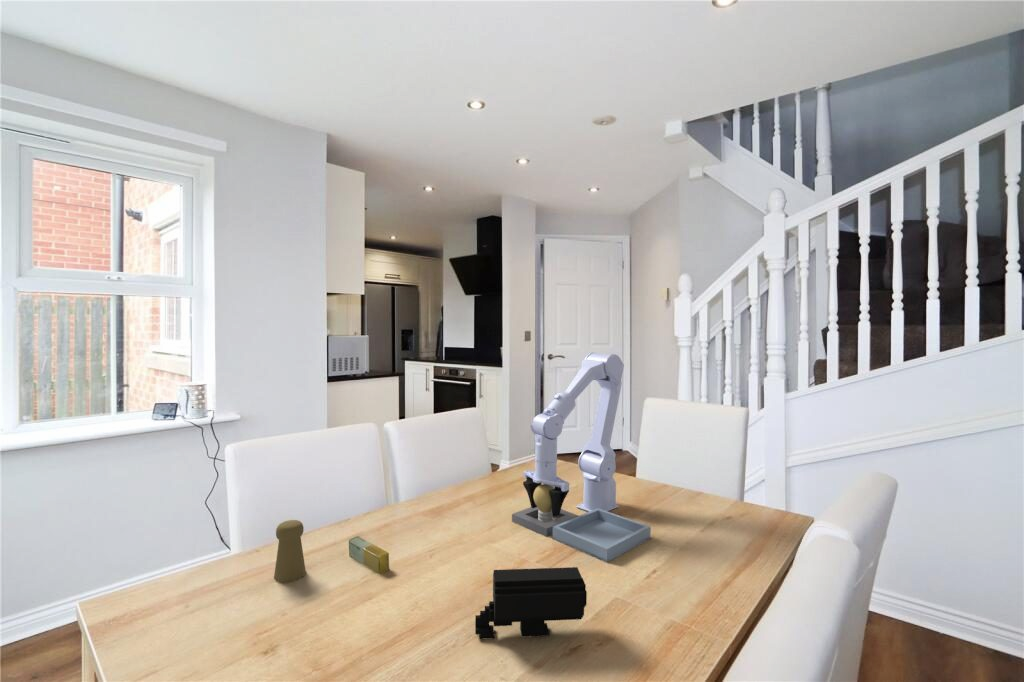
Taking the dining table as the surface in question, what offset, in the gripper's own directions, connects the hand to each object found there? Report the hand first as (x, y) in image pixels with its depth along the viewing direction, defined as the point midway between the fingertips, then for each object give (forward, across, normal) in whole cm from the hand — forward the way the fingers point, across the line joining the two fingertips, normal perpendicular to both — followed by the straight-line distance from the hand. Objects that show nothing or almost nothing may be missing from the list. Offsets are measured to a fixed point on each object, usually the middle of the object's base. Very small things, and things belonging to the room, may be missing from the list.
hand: (545, 511), depth 129 cm
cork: (+3, -17, -59) cm, 61 cm away
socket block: (+3, 0, 0) cm, 3 cm away
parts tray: (+3, +16, +3) cm, 17 cm away
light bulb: (+3, 0, 0) cm, 3 cm away
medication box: (+3, -11, -45) cm, 46 cm away
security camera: (+3, +30, -36) cm, 47 cm away
